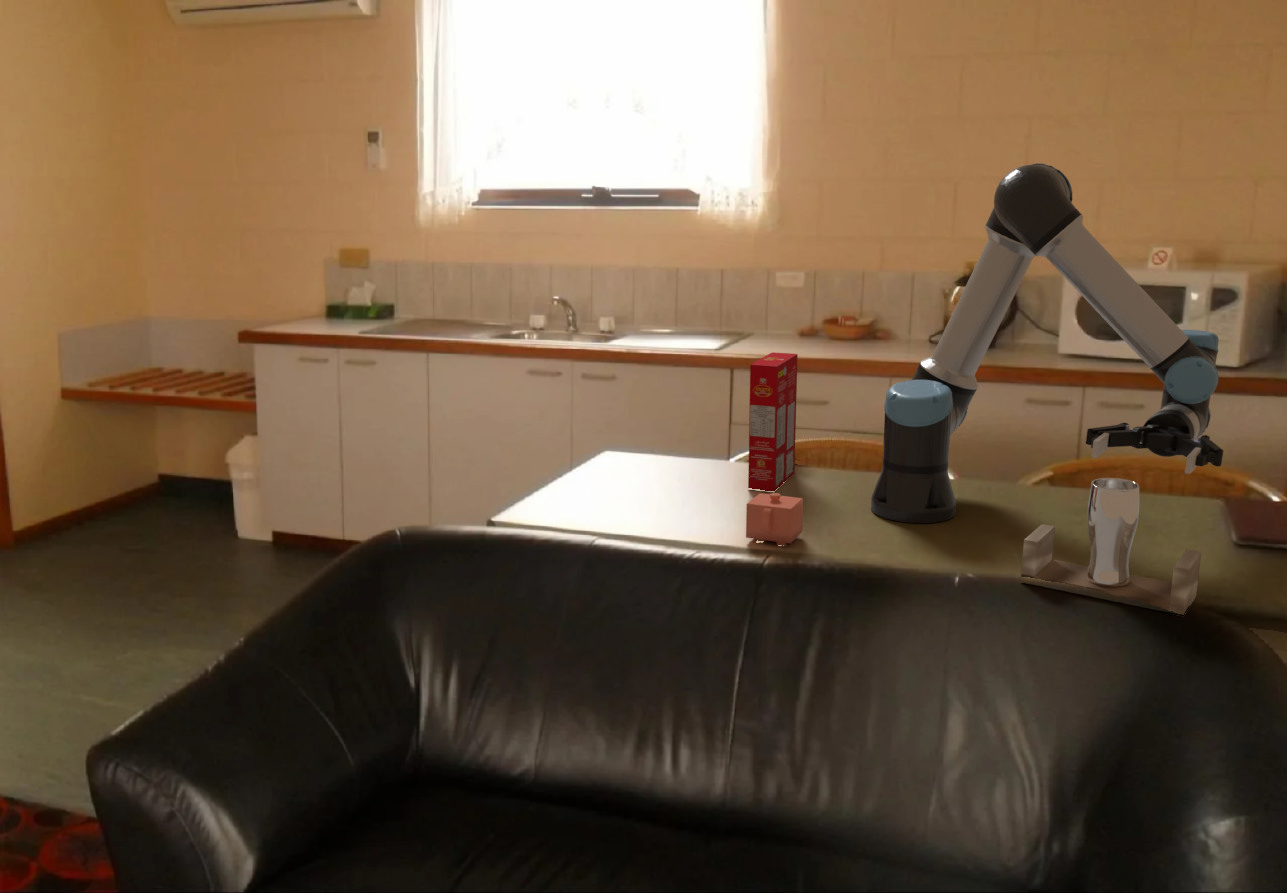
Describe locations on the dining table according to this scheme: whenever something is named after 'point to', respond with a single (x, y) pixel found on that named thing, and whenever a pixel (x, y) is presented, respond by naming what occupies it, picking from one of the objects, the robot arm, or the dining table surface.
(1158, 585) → the board
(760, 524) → the pink cube teapot
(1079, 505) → the dining table surface
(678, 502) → the dining table surface
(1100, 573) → the beer glass
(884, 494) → the robot arm
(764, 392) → the food packaging
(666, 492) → the dining table surface
